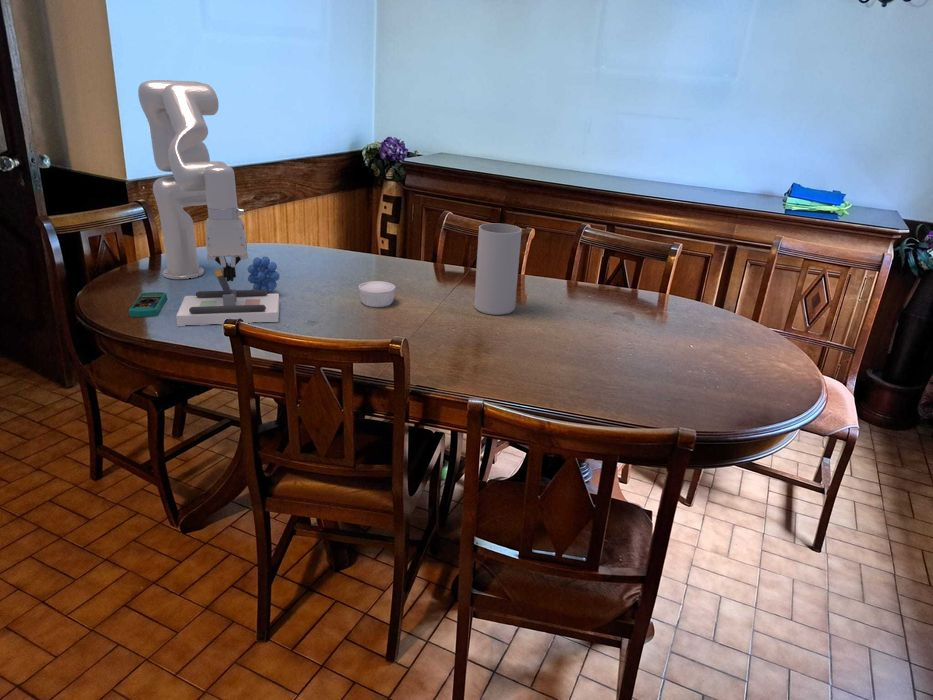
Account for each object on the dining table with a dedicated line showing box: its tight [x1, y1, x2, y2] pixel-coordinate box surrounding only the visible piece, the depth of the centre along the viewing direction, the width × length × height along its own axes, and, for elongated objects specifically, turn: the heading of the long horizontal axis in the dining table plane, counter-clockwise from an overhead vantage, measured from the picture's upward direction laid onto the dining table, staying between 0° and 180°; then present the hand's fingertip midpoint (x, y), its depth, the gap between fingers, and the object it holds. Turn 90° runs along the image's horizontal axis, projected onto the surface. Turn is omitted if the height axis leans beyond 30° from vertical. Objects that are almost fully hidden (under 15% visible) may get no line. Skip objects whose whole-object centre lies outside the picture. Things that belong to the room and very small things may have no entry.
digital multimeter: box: [128, 291, 168, 318], centre depth 185 cm, size 7×15×3 cm, turn 13°
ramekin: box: [358, 280, 396, 308], centre depth 199 cm, size 11×11×5 cm
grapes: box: [247, 255, 280, 293], centre depth 200 cm, size 12×7×12 cm, turn 68°
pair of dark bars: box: [189, 289, 269, 314], centre depth 183 cm, size 15×20×2 cm
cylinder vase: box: [473, 222, 523, 316], centre depth 195 cm, size 12×12×25 cm
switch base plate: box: [176, 288, 280, 327], centre depth 183 cm, size 16×26×6 cm, turn 104°
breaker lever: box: [214, 267, 235, 296], centre depth 181 cm, size 3×2×10 cm
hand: (230, 279), depth 180 cm, fingers closed
